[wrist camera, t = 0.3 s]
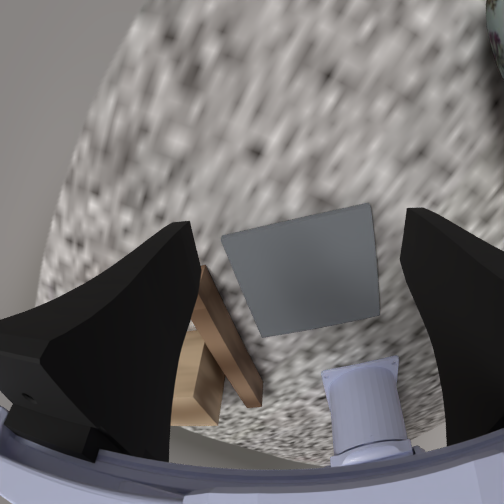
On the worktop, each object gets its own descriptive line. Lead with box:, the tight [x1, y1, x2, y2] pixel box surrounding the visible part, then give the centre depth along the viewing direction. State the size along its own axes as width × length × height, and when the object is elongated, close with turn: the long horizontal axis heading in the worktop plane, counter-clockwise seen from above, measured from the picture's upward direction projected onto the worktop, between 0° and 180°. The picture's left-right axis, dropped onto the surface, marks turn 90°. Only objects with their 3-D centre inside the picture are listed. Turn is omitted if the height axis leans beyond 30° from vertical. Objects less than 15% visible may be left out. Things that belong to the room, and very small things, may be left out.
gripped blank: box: [170, 330, 225, 426], centre depth 27 cm, size 5×7×7 cm
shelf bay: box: [191, 265, 263, 408], centre depth 28 cm, size 16×12×3 cm
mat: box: [221, 203, 380, 338], centre depth 23 cm, size 10×10×1 cm
